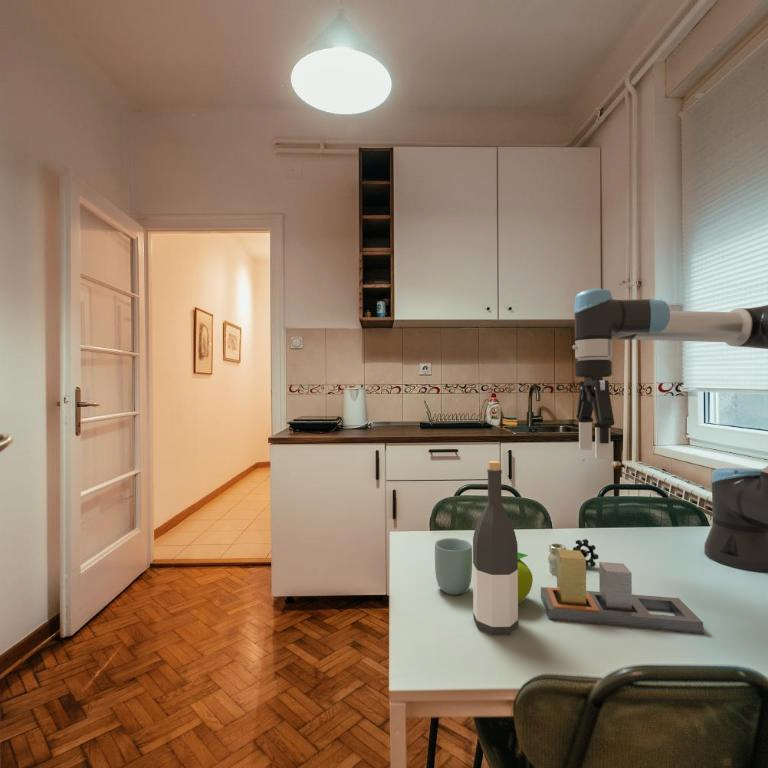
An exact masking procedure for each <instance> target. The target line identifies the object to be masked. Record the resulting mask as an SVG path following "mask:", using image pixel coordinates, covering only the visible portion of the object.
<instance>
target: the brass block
mask: <svg viewBox="0 0 768 768" xmlns="http://www.w3.org/2000/svg"><path fill="white" fill-rule="evenodd" d="M586 560H587V558H585V557H584V556H583V554H582V553H581V551H577V550H573V549H566V550H562V549H557V576H556V588H557V603H558V604H561V605H573V606H584V607H586V590H587V567H586Z"/></svg>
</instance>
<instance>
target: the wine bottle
mask: <svg viewBox="0 0 768 768" xmlns="http://www.w3.org/2000/svg"><path fill="white" fill-rule="evenodd" d="M486 470H487V503H486V504H485V507H484V509H483V511H482V513H481V514H480V516H479V517H478V520H477V522H476V526H475V528H474V533H473V536H472V537H473V538H472V601H473V602H472V604H473V605H472V609H473V610H472V612H473V615H472V616H473V621H474V623H475V626H476V628H477V630H479V631H482V632H484V633H486V634H489V635H490V636H510V635H512V633H514V632H515V631H516V630H517V629H518V627H519V604H518V553H519V552H518V551H519V550H518V549H519V546H518V541H517V536H516V531H515V529H514V526H513V523H512V520H511V519H510V518H509V516H508V514H507V512H506V510H505V508H504V506H503V503H502V474H503V473H502V472H503V470H502V469H501V462H500V461H498V460H490V461H488V468H487V469H486Z"/></svg>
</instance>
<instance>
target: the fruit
mask: <svg viewBox="0 0 768 768" xmlns="http://www.w3.org/2000/svg"><path fill="white" fill-rule="evenodd" d="M525 557H528V554H525V553H521V552H518V605H519V604H520V603H522V602H523V601H524V600H525V599H526V598H527V596H528V595H530V594H529V593H530V591H531V590H532V586H533V573H532V571H531V569H530V568H529V566H528V565H527V564H526V563H525V562H524V561H522V559H523V558H525Z"/></svg>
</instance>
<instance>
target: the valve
mask: <svg viewBox="0 0 768 768" xmlns="http://www.w3.org/2000/svg"><path fill="white" fill-rule="evenodd" d="M575 545H576V546H574V547H572V550H577V551H581V553H582V554H583V556H584V557H585V559H586V568H587V567H589V566H590V567H592V568H593V567H595V566H596V565H597V564H596V562H595V560H598V559H599V555H598V554H596V553H595V552H594V551H595V550H596V546H595V545H594V544H592V545H589V540H588V539H587V538H585V539H582V540H581V539H577V540H575ZM582 547H585V548H587V549H583V548H582ZM548 549H549V550H548V552H549V554H548V558H547V559H548V560H547V561H548V564H549V565H548V566H549V573H550V575H552V576H555V577H557V549H562V550H567V547H566V545H564V544H562V543H557V542H553V543H550V544H549V545H548ZM589 556H590V558H589V559H587V557H589Z"/></svg>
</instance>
